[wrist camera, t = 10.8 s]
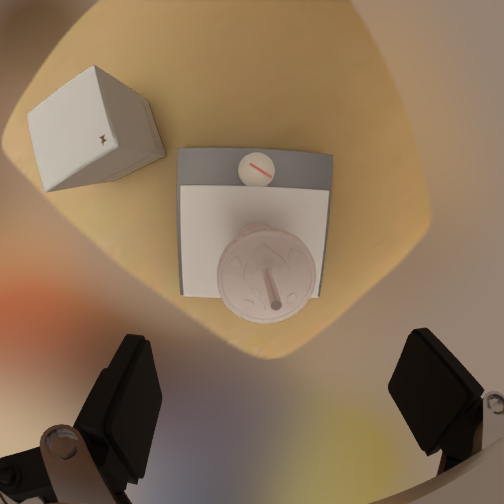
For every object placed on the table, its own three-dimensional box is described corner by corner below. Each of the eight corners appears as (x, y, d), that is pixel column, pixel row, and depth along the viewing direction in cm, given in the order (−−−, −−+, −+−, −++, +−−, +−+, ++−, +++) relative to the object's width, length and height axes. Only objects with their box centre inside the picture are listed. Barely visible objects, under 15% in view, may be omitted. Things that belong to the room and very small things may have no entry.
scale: (183, 150, 27) (176, 147, 23) (323, 156, 28) (335, 154, 24) (185, 283, 31) (179, 298, 27) (312, 285, 32) (321, 299, 28)
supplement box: (148, 98, 25) (96, 60, 13) (167, 156, 27) (120, 149, 15) (94, 127, 25) (24, 112, 13) (111, 183, 27) (43, 195, 15)
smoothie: (286, 203, 25) (340, 241, 12) (292, 268, 27) (339, 354, 14) (218, 213, 25) (196, 261, 12) (228, 277, 27) (222, 373, 14)
